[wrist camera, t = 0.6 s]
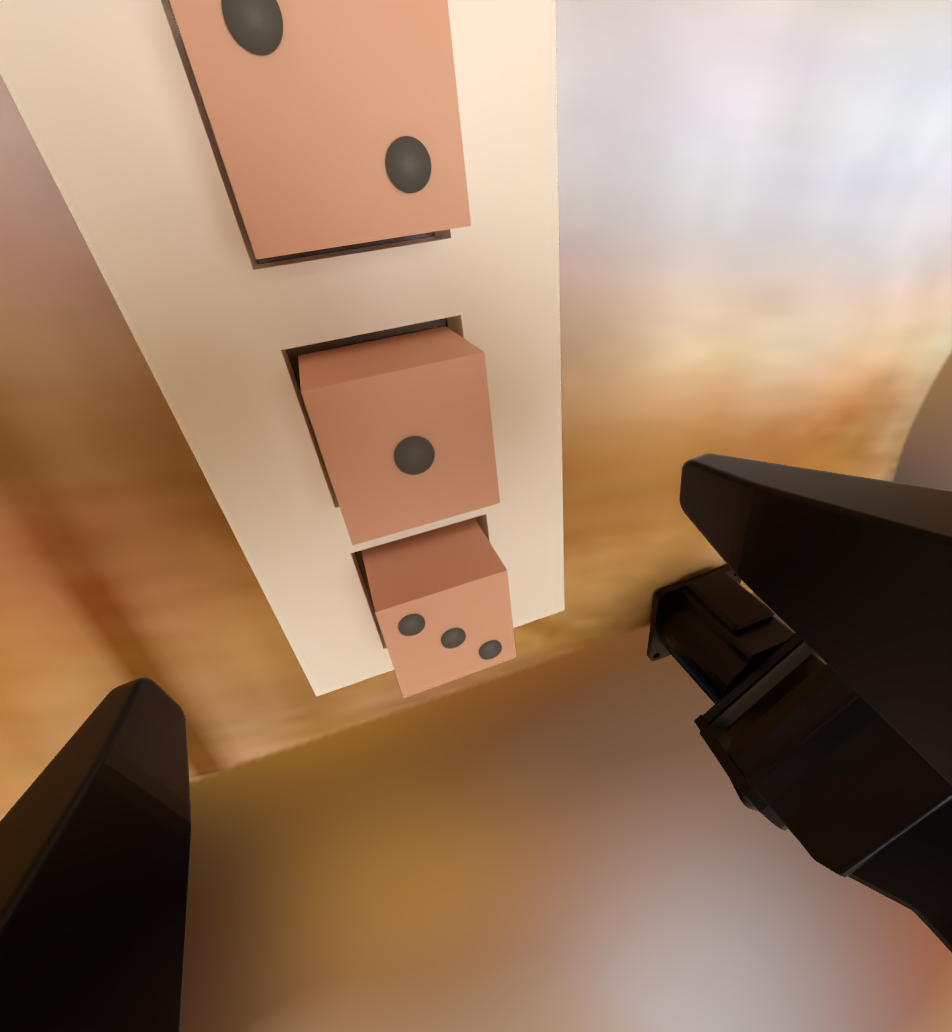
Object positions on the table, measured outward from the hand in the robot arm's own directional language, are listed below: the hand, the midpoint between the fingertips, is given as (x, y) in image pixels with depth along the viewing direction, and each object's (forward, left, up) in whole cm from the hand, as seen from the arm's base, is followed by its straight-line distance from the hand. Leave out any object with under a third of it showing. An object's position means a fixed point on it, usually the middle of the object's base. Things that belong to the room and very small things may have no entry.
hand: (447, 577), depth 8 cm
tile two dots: (+7, -1, -11) cm, 13 cm away
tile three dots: (-9, -1, -11) cm, 14 cm away
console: (-1, -1, -12) cm, 12 cm away
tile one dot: (-1, -1, -11) cm, 11 cm away
